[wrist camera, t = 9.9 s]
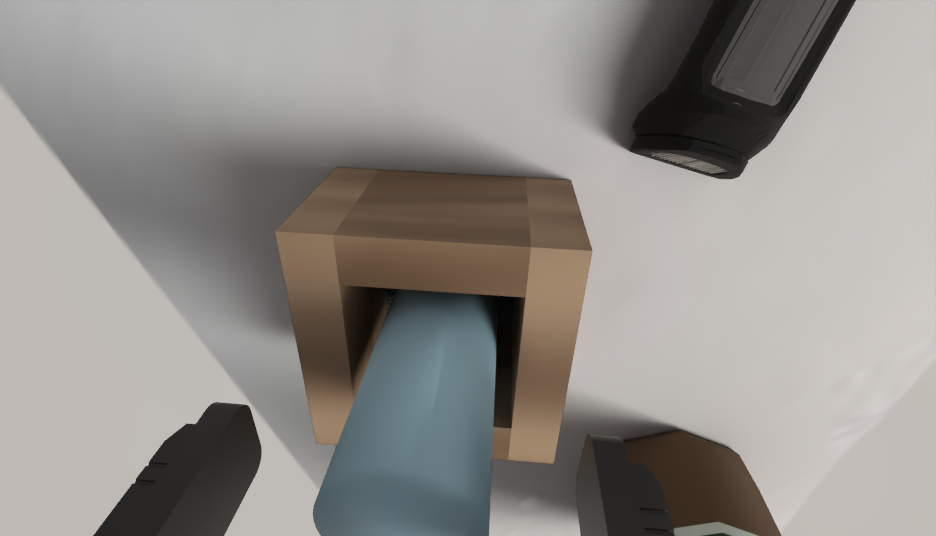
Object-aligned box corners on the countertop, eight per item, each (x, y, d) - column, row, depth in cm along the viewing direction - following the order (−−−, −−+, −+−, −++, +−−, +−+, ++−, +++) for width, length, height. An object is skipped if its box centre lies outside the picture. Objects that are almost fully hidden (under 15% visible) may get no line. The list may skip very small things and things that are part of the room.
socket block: (336, 167, 17) (274, 231, 12) (570, 179, 16) (592, 250, 12) (357, 347, 21) (316, 443, 16) (544, 361, 20) (553, 463, 16)
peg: (403, 229, 18) (300, 463, 9) (502, 235, 17) (493, 479, 9) (407, 310, 19) (324, 568, 11) (496, 316, 19) (484, 584, 11)
